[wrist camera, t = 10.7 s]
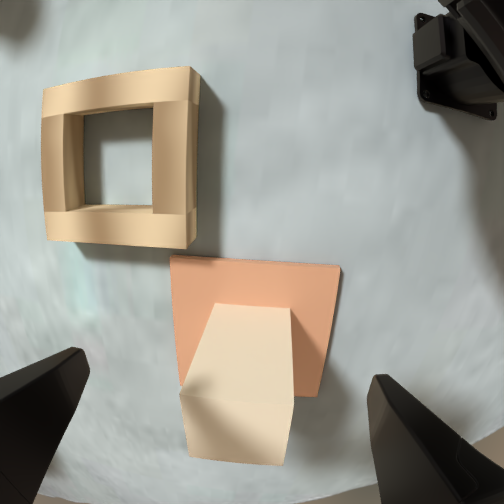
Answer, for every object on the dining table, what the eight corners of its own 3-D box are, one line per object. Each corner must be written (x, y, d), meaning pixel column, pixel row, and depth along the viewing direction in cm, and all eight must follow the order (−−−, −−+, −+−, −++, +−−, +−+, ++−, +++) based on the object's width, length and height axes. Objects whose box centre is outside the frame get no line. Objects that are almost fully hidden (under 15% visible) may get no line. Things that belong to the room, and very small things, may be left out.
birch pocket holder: (200, 75, 18) (189, 66, 15) (196, 237, 21) (186, 249, 18) (64, 92, 18) (43, 89, 16) (66, 230, 22) (47, 240, 19)
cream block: (290, 308, 21) (294, 404, 13) (283, 367, 23) (282, 465, 14) (215, 303, 22) (179, 394, 13) (216, 361, 23) (189, 456, 15)
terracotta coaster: (339, 265, 21) (340, 268, 20) (316, 392, 24) (317, 396, 24) (172, 254, 21) (169, 257, 21) (182, 380, 25) (180, 385, 24)
